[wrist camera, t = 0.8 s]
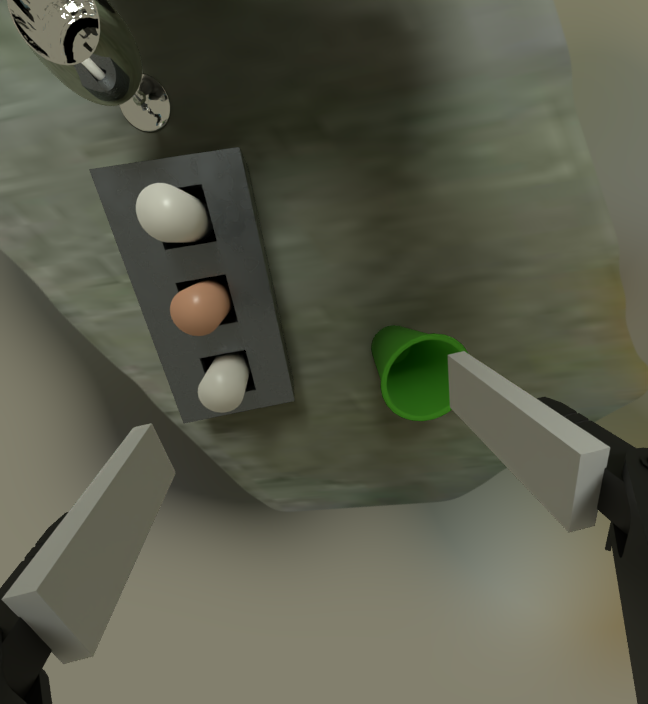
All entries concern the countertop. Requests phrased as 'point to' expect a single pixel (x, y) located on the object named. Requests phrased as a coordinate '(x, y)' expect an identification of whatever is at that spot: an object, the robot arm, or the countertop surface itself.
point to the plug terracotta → (201, 307)
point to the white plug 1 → (173, 214)
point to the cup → (414, 371)
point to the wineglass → (92, 56)
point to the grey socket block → (202, 275)
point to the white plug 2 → (225, 382)
